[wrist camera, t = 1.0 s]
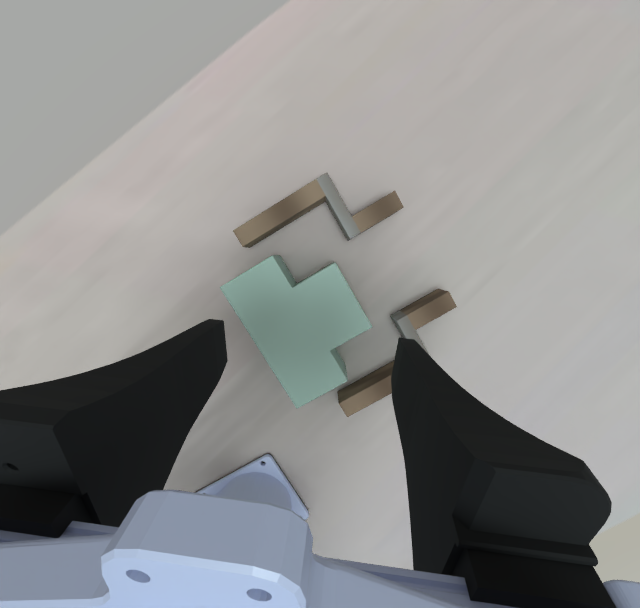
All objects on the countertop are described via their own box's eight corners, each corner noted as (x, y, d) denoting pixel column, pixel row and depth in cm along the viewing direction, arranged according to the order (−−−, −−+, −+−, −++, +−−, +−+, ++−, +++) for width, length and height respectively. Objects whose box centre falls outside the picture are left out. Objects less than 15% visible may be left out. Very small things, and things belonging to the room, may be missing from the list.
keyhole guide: (345, 404, 30) (347, 417, 28) (240, 233, 28) (232, 230, 26) (464, 338, 29) (477, 346, 27) (366, 155, 27) (370, 145, 25)
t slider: (300, 388, 30) (296, 408, 27) (234, 283, 29) (219, 287, 25) (381, 344, 30) (390, 357, 26) (317, 232, 28) (316, 229, 24)
